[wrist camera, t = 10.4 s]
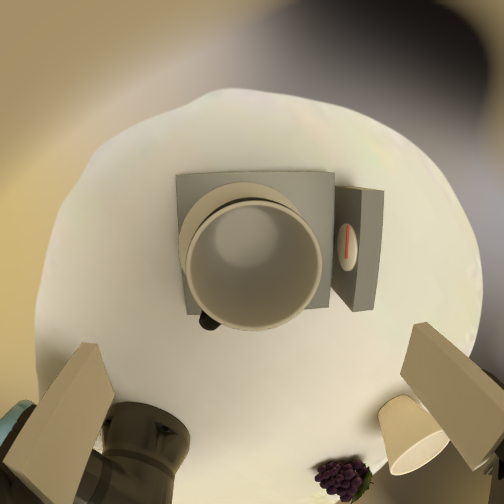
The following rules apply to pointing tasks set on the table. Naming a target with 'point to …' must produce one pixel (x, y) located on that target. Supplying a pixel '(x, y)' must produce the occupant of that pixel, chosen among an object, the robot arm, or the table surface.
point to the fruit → (345, 479)
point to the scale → (312, 211)
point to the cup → (409, 435)
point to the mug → (252, 265)
